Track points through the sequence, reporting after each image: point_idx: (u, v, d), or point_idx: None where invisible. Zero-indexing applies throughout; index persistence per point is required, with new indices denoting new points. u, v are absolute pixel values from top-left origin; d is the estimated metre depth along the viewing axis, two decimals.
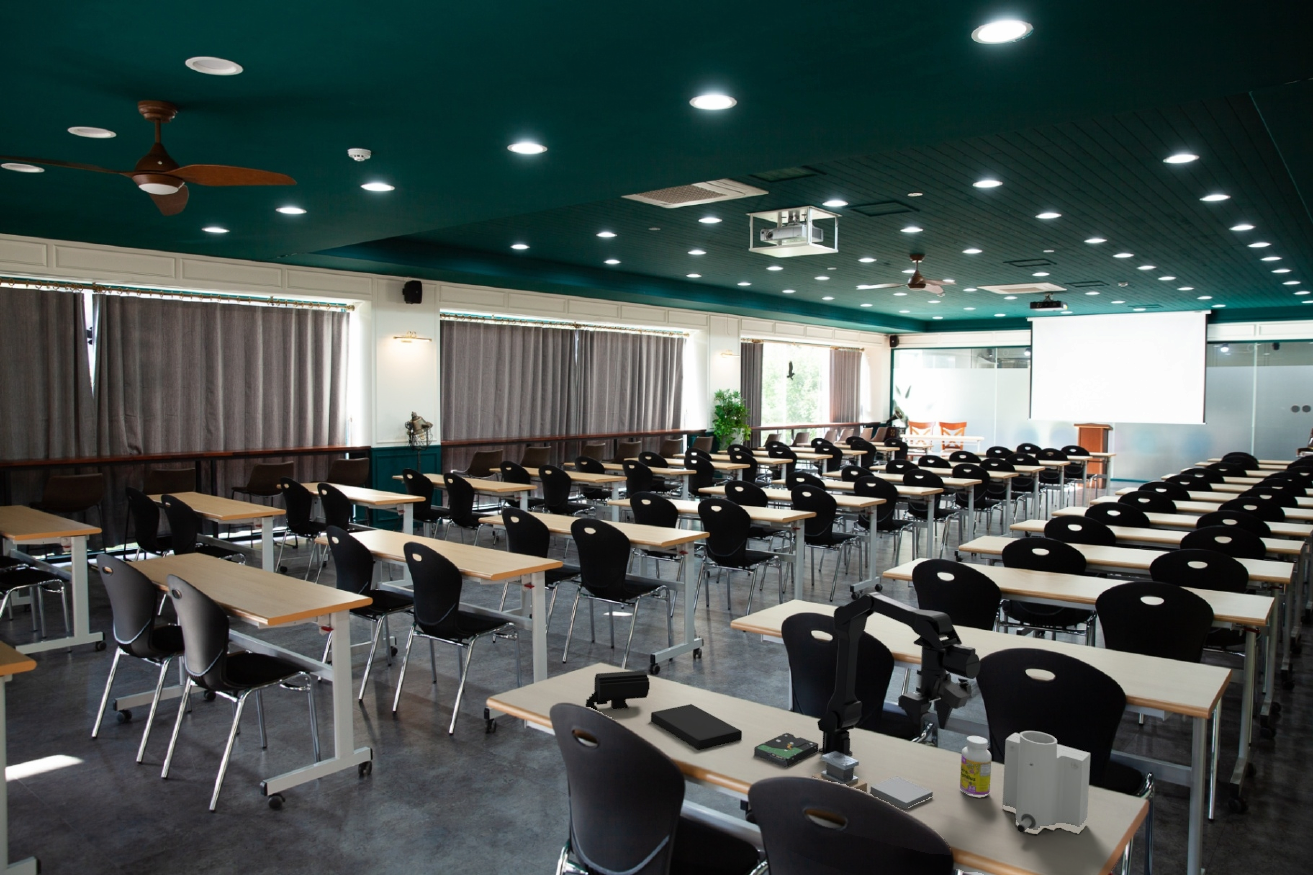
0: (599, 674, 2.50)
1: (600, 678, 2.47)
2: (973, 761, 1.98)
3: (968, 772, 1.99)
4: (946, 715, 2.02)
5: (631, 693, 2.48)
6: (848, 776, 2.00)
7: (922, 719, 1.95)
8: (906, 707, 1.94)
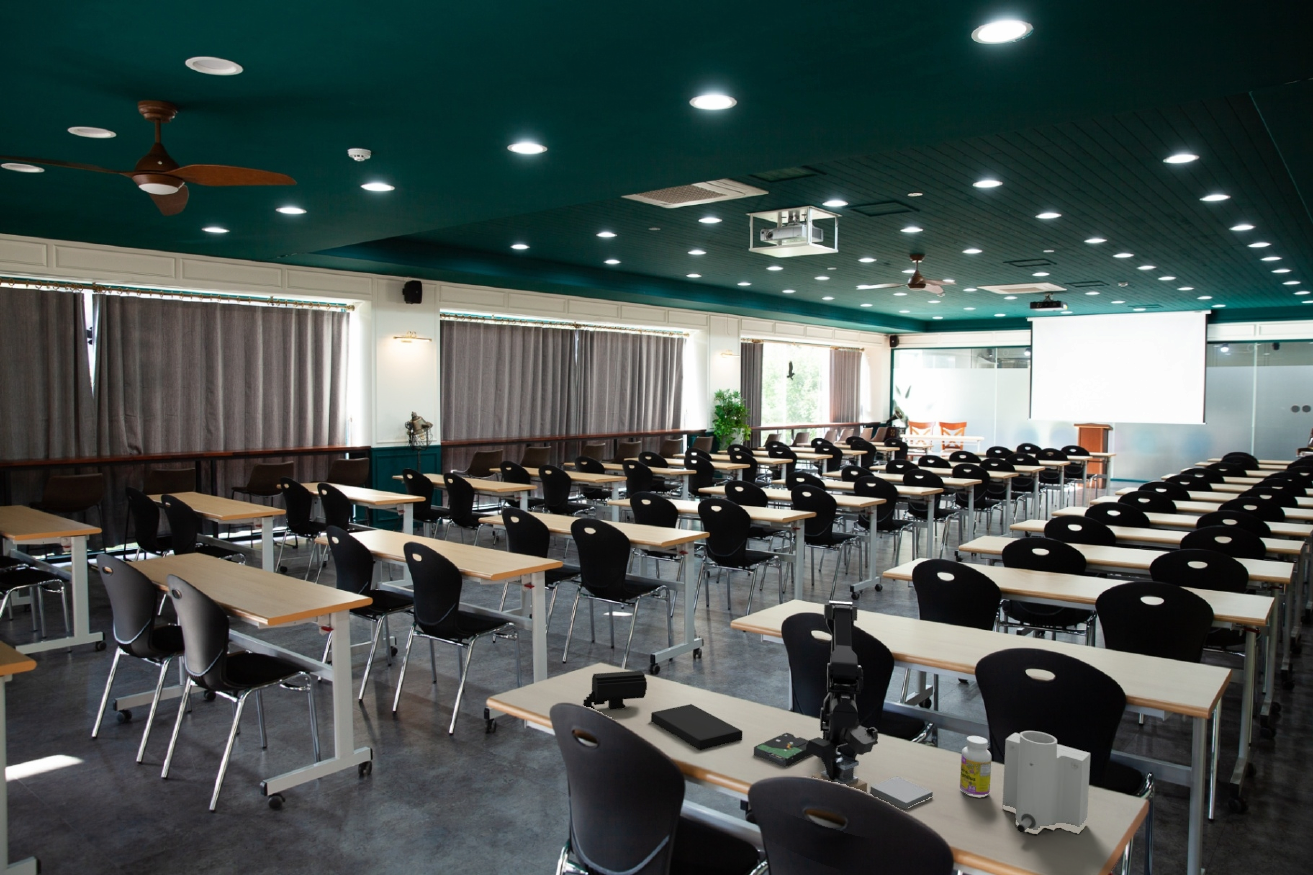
0: (596, 674, 2.50)
1: (597, 678, 2.46)
2: (973, 761, 1.98)
3: (968, 772, 1.99)
4: None
5: (628, 693, 2.48)
6: (848, 776, 2.00)
7: (834, 762, 1.99)
8: (812, 753, 1.96)
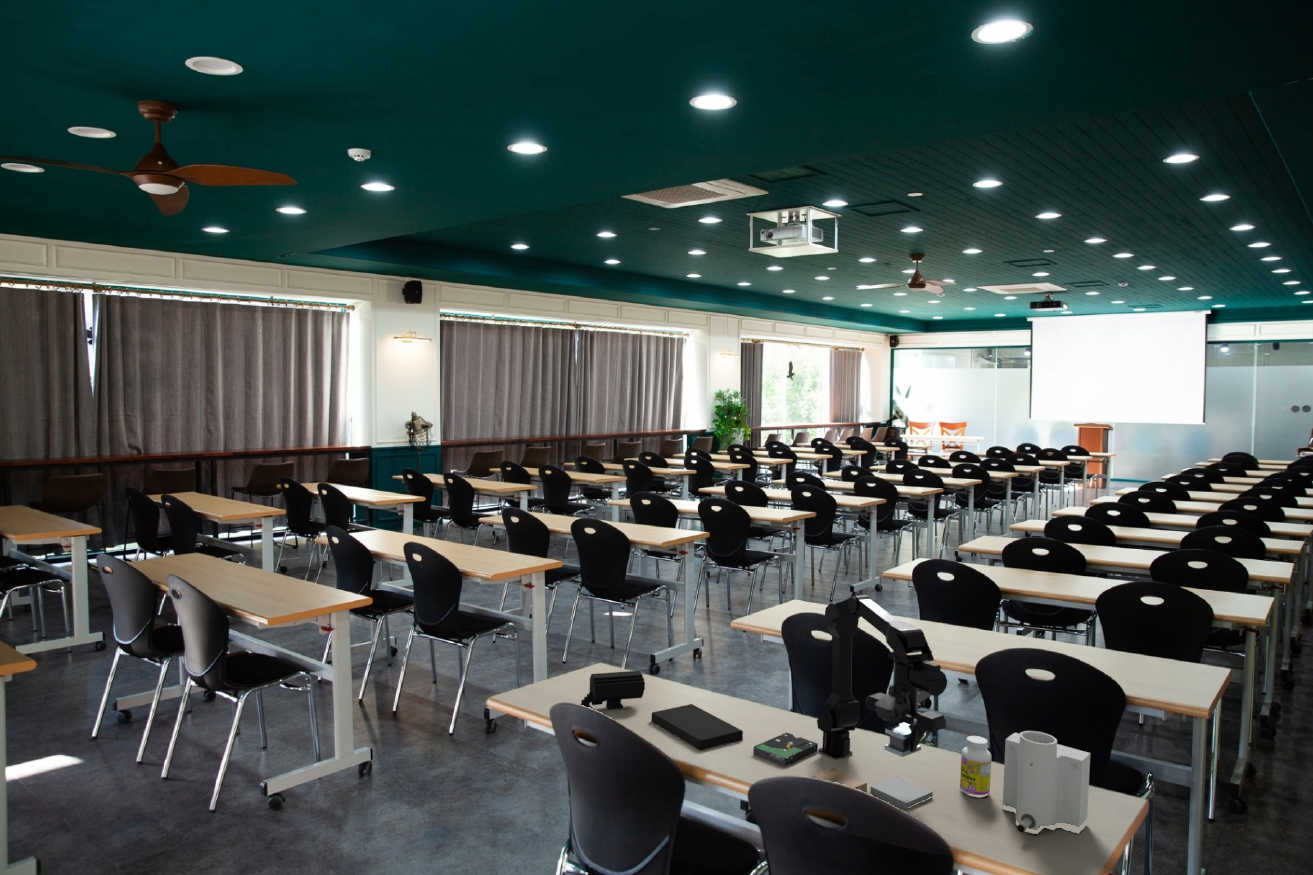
0: (594, 674, 2.49)
1: (595, 678, 2.46)
2: (973, 761, 1.98)
3: (968, 772, 1.99)
4: None
5: (626, 693, 2.48)
6: (896, 745, 1.97)
7: (887, 723, 2.00)
8: None
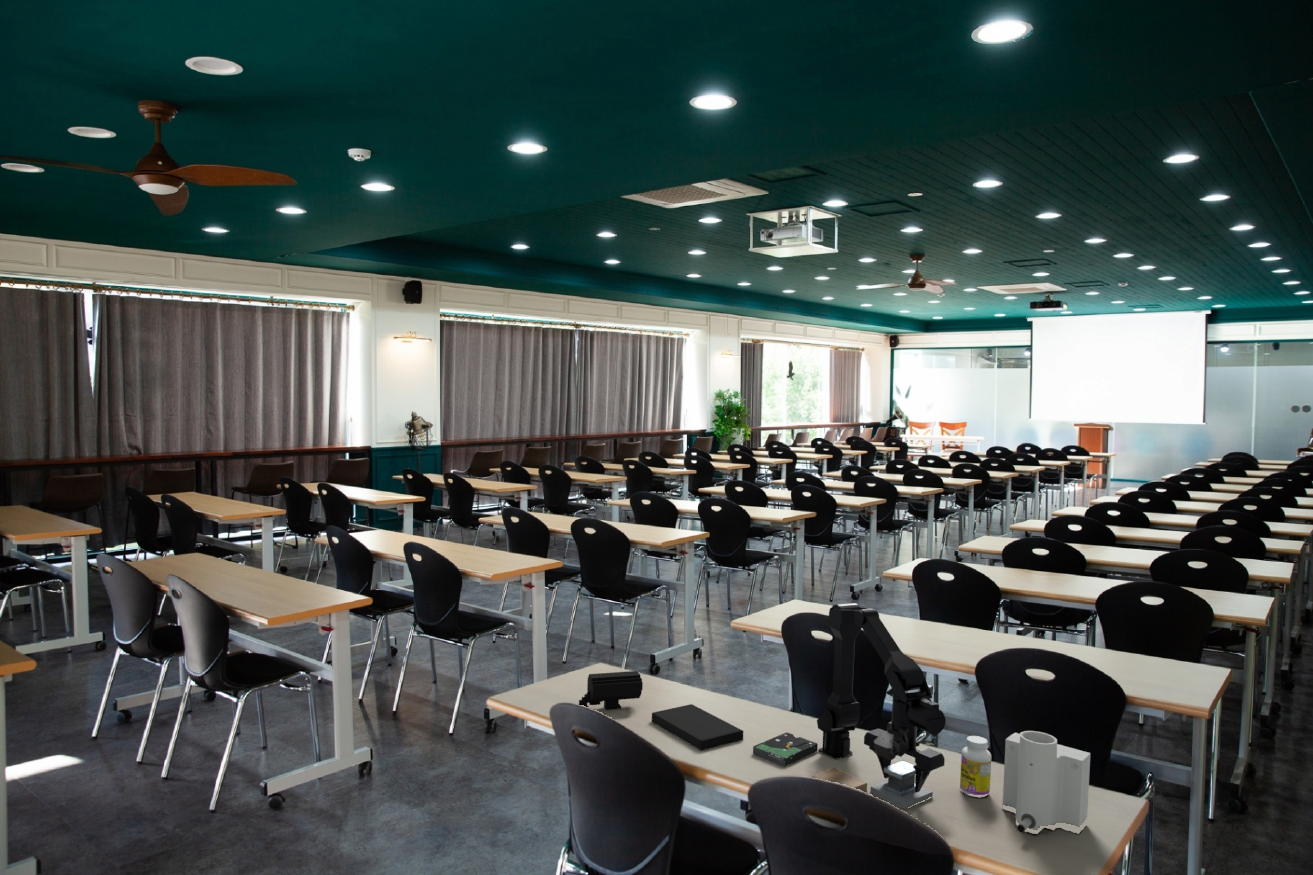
0: (592, 674, 2.49)
1: (593, 679, 2.46)
2: (973, 761, 1.98)
3: (968, 772, 1.99)
4: None
5: (624, 694, 2.47)
6: (894, 785, 1.97)
7: (879, 758, 2.02)
8: None
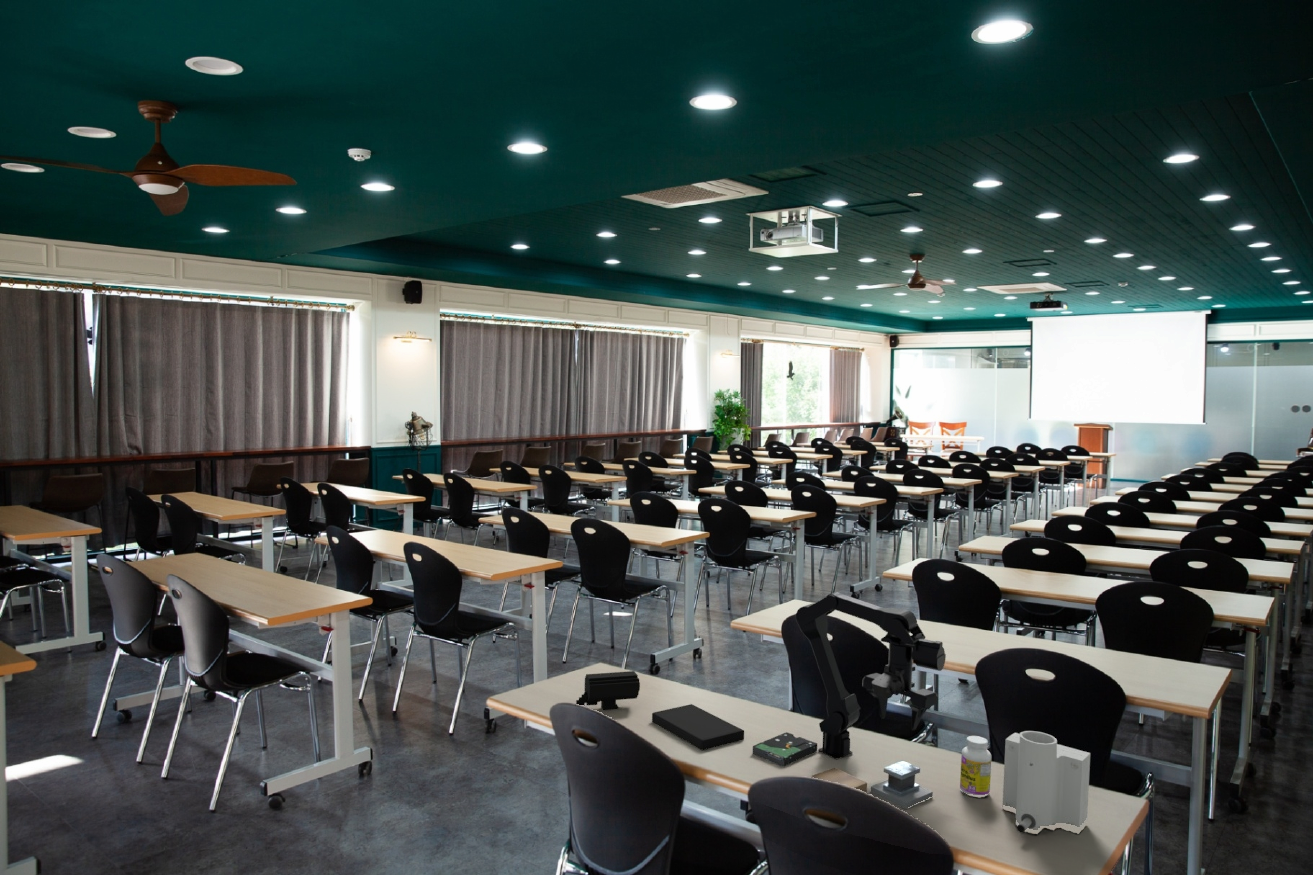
0: (589, 674, 2.49)
1: (590, 679, 2.46)
2: (973, 761, 1.98)
3: (968, 772, 1.99)
4: None
5: (621, 694, 2.47)
6: (894, 785, 1.97)
7: (876, 699, 2.15)
8: None
